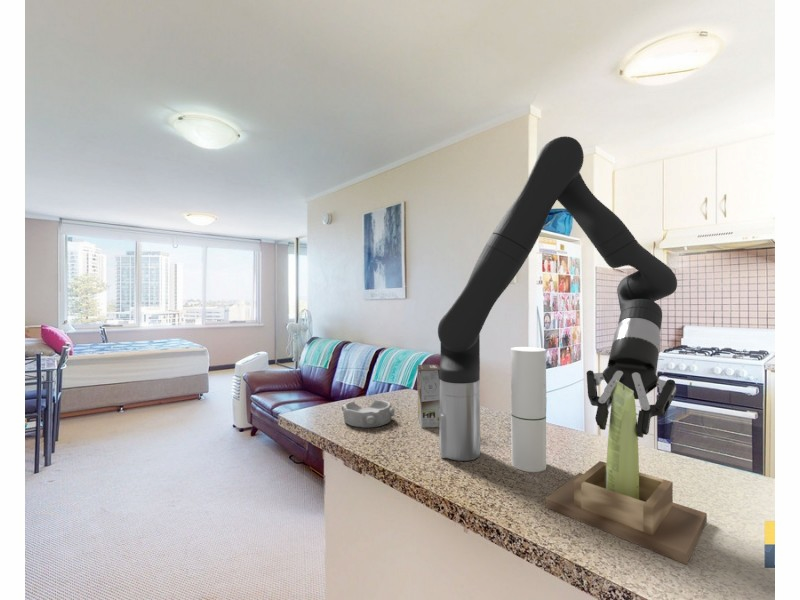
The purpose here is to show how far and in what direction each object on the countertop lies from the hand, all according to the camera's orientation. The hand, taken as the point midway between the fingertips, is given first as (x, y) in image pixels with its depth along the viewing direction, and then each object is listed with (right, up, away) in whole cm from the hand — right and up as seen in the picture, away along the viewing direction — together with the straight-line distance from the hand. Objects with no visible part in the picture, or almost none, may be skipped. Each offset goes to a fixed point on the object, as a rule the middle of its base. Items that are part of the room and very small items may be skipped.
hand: (620, 430), depth 64 cm
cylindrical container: (-8, -15, +21) cm, 27 cm away
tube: (+1, -13, +2) cm, 13 cm away
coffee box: (-27, -14, +50) cm, 58 cm away
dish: (-45, -15, +51) cm, 70 cm away
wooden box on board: (+1, -15, +2) cm, 15 cm away
